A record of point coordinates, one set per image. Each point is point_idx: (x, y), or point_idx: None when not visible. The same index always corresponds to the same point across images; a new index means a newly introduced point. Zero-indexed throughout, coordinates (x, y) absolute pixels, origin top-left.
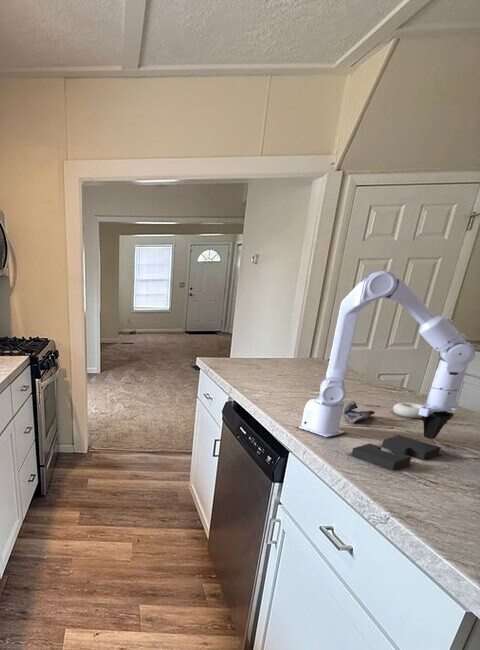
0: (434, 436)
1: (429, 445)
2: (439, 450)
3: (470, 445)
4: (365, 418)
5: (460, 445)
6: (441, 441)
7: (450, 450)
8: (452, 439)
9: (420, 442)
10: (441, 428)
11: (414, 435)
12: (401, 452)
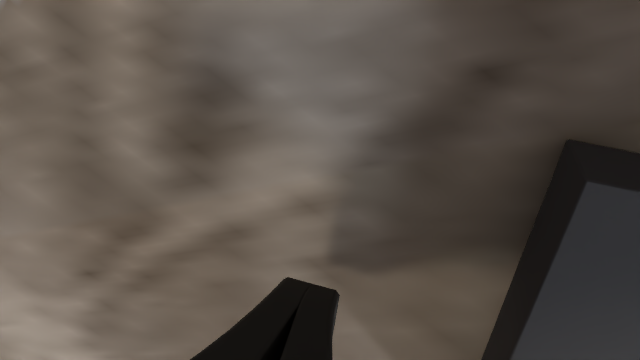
0: (326, 305)
1: (622, 282)
2: (595, 162)
3: (3, 2)
4: None
5: (85, 64)
6: (130, 199)
7: (316, 88)
8: (3, 151)
9: (564, 357)
10: (216, 345)
11: (175, 354)
12: None
